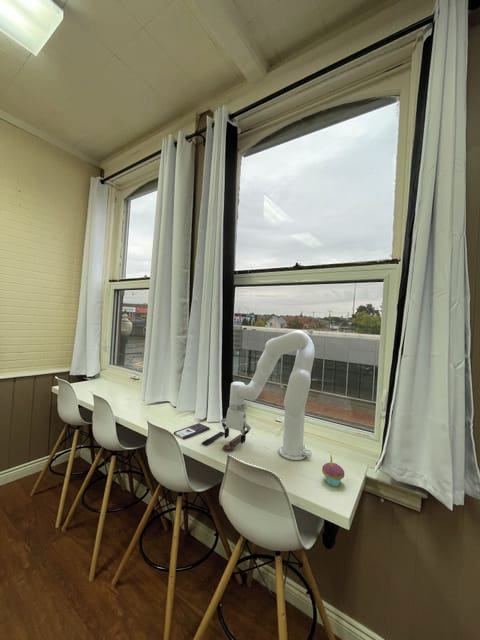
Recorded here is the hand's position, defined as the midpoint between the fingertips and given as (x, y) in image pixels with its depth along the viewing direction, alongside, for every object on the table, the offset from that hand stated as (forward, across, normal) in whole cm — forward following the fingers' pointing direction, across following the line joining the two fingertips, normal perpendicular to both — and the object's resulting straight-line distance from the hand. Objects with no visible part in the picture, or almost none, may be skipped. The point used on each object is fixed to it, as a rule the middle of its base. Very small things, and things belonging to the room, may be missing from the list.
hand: (234, 439), depth 136 cm
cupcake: (+2, -49, +5) cm, 50 cm away
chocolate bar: (+2, +27, +1) cm, 27 cm away
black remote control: (+2, +12, +1) cm, 12 cm away
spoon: (+2, 0, +1) cm, 3 cm away
